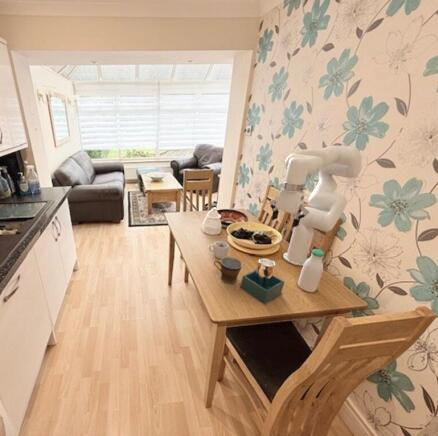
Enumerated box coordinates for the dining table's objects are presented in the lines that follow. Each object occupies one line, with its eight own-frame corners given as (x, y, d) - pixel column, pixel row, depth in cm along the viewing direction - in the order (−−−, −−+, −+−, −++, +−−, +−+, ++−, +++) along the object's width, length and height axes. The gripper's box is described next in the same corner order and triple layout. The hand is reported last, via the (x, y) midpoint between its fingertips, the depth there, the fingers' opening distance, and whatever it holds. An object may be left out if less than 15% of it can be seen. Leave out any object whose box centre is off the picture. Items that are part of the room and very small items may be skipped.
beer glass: (270, 295, 108) (277, 267, 102) (254, 293, 109) (260, 265, 103) (266, 285, 114) (273, 258, 108) (251, 283, 116) (257, 257, 110)
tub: (257, 278, 120) (259, 267, 117) (281, 293, 110) (284, 281, 107) (240, 287, 114) (242, 275, 111) (264, 303, 104) (267, 291, 101)
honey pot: (222, 234, 164) (226, 210, 157) (204, 234, 164) (206, 210, 157) (218, 226, 176) (221, 203, 168) (200, 226, 176) (202, 203, 169)
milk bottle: (316, 294, 109) (329, 258, 101) (297, 288, 113) (308, 252, 105) (316, 285, 115) (328, 249, 107) (297, 280, 119) (308, 245, 111)
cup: (207, 257, 138) (208, 245, 135) (209, 250, 145) (210, 239, 142) (226, 261, 134) (228, 249, 131) (227, 254, 141) (229, 242, 138)
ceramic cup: (239, 275, 123) (242, 259, 119) (238, 287, 114) (242, 270, 110) (213, 270, 127) (215, 254, 123) (211, 281, 118) (213, 265, 114)
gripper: (319, 190, 98) (308, 227, 105) (279, 181, 111) (271, 214, 118) (309, 193, 94) (298, 231, 101) (269, 183, 108) (262, 218, 115)
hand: (284, 222), depth 110 cm, fingers open, 9 cm apart
